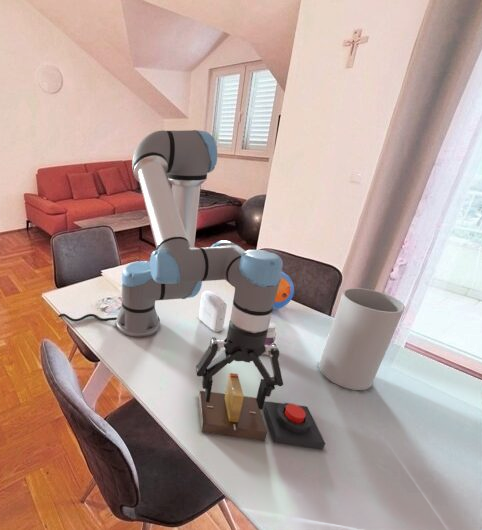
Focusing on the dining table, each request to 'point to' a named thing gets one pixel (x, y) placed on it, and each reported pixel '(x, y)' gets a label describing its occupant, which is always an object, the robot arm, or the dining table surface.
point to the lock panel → (218, 421)
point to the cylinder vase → (359, 337)
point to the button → (295, 413)
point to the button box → (292, 427)
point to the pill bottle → (270, 335)
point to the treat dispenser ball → (284, 291)
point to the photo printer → (212, 310)
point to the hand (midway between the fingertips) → (232, 401)
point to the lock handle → (233, 397)
